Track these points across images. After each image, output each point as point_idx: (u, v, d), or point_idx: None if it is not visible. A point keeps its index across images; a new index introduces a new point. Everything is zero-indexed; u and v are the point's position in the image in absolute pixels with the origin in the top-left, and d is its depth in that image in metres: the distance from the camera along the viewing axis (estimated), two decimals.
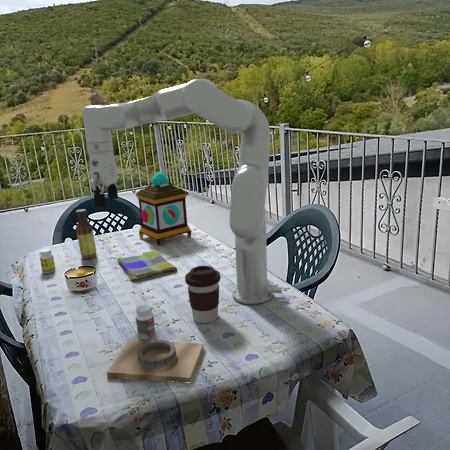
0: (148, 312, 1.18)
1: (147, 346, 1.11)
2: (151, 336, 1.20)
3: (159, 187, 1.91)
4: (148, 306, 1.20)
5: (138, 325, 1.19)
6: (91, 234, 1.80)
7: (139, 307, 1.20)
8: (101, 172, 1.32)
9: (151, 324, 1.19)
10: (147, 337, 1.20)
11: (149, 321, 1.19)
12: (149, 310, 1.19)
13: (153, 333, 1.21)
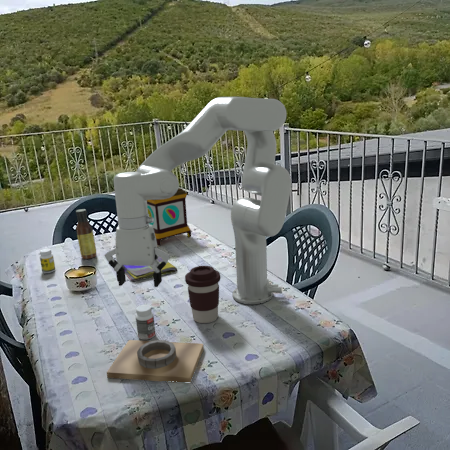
0: (148, 312, 1.18)
1: (147, 346, 1.11)
2: (151, 336, 1.20)
3: None
4: (148, 306, 1.20)
5: (138, 325, 1.19)
6: (91, 234, 1.80)
7: (139, 307, 1.20)
8: (156, 244, 1.15)
9: (151, 324, 1.19)
10: (147, 337, 1.20)
11: (149, 321, 1.19)
12: (149, 310, 1.19)
13: (153, 333, 1.21)
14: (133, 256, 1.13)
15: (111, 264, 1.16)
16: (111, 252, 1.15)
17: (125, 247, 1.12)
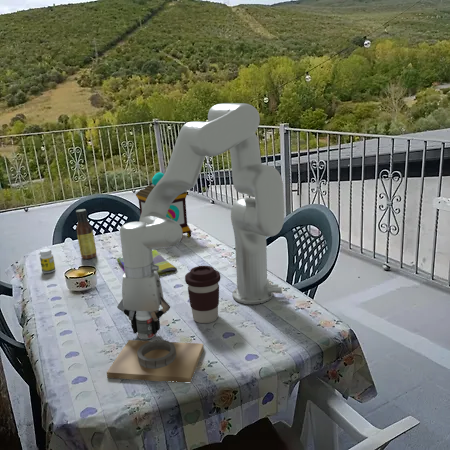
0: (148, 312, 1.18)
1: (147, 346, 1.11)
2: (151, 336, 1.20)
3: None
4: None
5: (138, 325, 1.19)
6: (91, 234, 1.80)
7: None
8: (161, 290, 1.19)
9: (151, 324, 1.19)
10: (147, 337, 1.19)
11: (149, 321, 1.19)
12: None
13: None
14: (139, 302, 1.16)
15: (126, 313, 1.20)
16: (121, 302, 1.19)
17: (131, 294, 1.16)
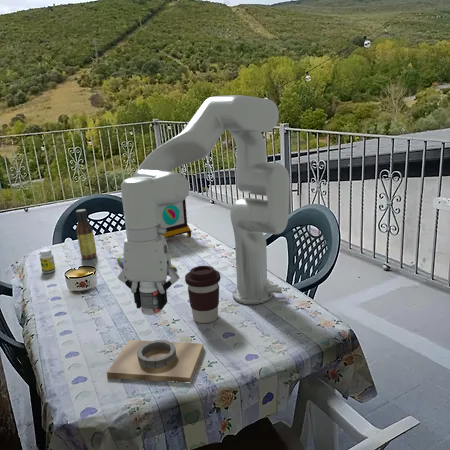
0: (153, 283, 1.02)
1: (147, 346, 1.11)
2: (157, 311, 1.04)
3: None
4: None
5: (142, 298, 1.03)
6: (91, 234, 1.80)
7: None
8: (169, 257, 1.03)
9: (157, 298, 1.03)
10: (152, 312, 1.03)
11: (154, 293, 1.02)
12: None
13: None
14: (143, 271, 1.00)
15: (128, 284, 1.04)
16: (122, 272, 1.03)
17: (134, 261, 1.00)
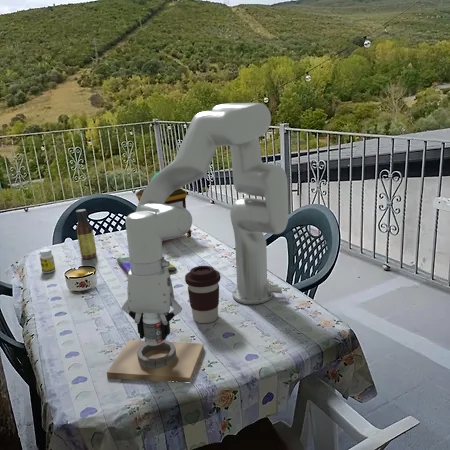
0: (157, 314, 1.04)
1: (147, 346, 1.11)
2: (160, 342, 1.06)
3: None
4: None
5: (145, 329, 1.05)
6: (91, 234, 1.80)
7: None
8: (172, 289, 1.05)
9: (160, 328, 1.05)
10: (155, 343, 1.05)
11: (158, 324, 1.04)
12: None
13: None
14: (147, 303, 1.02)
15: (131, 315, 1.06)
16: (126, 303, 1.05)
17: (138, 294, 1.02)
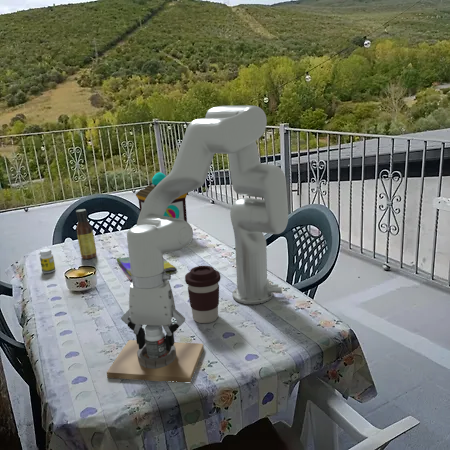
0: (159, 331, 1.05)
1: None
2: None
3: None
4: None
5: (148, 346, 1.06)
6: (91, 234, 1.80)
7: (148, 326, 1.07)
8: (173, 301, 1.06)
9: (162, 345, 1.07)
10: None
11: (160, 341, 1.06)
12: (160, 329, 1.06)
13: (165, 354, 1.08)
14: (149, 316, 1.03)
15: (130, 326, 1.07)
16: (126, 314, 1.06)
17: (140, 306, 1.03)
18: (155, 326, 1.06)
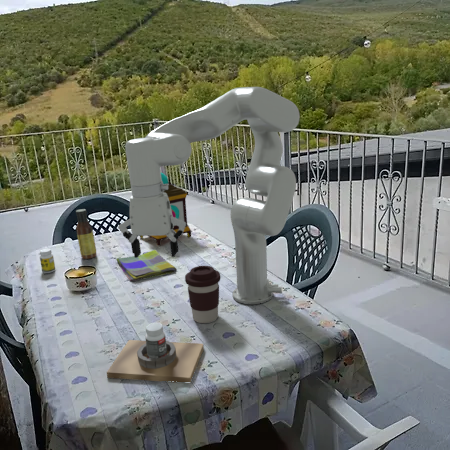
0: (159, 331, 1.06)
1: None
2: None
3: None
4: (159, 324, 1.07)
5: (148, 346, 1.06)
6: (91, 234, 1.80)
7: (149, 326, 1.07)
8: (171, 213, 1.12)
9: (163, 345, 1.07)
10: None
11: (160, 341, 1.06)
12: (160, 329, 1.06)
13: None
14: (149, 226, 1.09)
15: (125, 236, 1.12)
16: (125, 223, 1.12)
17: (140, 217, 1.09)
18: (156, 326, 1.07)
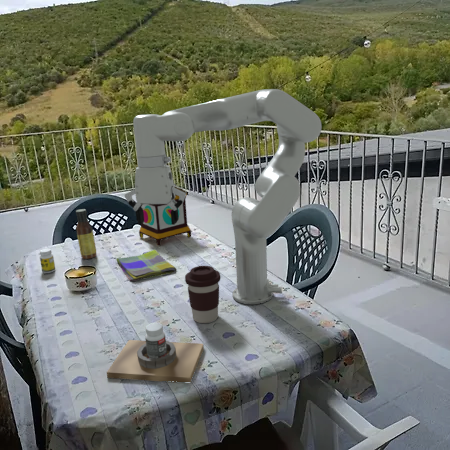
0: (159, 331, 1.06)
1: None
2: None
3: None
4: (159, 324, 1.07)
5: (148, 346, 1.06)
6: (91, 234, 1.80)
7: (149, 326, 1.07)
8: (173, 184, 1.22)
9: (163, 345, 1.07)
10: None
11: (160, 341, 1.06)
12: (160, 329, 1.06)
13: None
14: (152, 194, 1.20)
15: (131, 204, 1.23)
16: (130, 192, 1.23)
17: (144, 186, 1.19)
18: (156, 326, 1.07)
